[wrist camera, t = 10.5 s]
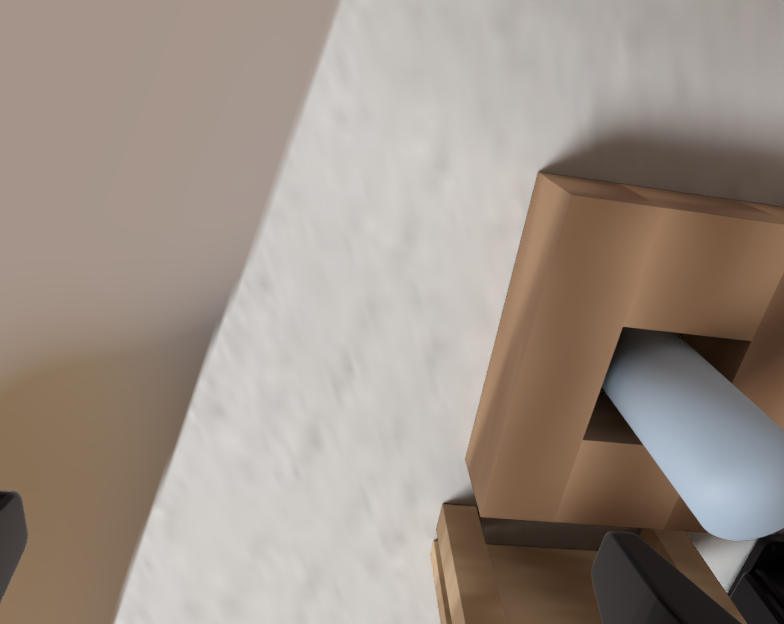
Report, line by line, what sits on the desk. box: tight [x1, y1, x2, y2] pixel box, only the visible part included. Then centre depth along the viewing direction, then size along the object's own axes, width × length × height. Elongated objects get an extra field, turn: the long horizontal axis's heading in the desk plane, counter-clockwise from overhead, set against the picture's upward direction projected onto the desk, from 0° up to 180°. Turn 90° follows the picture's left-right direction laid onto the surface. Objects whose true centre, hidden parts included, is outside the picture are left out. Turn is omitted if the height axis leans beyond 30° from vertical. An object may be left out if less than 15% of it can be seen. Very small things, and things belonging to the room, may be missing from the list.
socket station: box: [430, 172, 784, 624], centre depth 18 cm, size 11×18×10 cm, turn 172°
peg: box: [602, 327, 784, 541], centre depth 18 cm, size 3×3×8 cm
